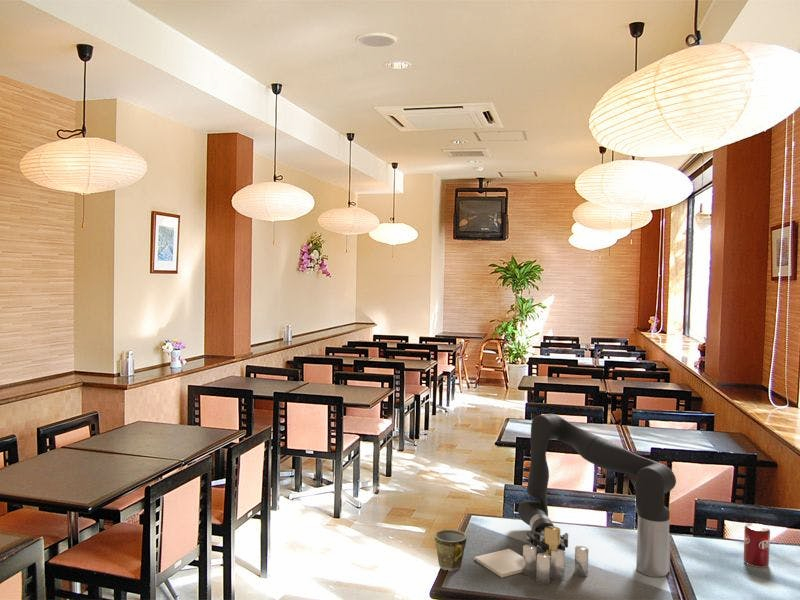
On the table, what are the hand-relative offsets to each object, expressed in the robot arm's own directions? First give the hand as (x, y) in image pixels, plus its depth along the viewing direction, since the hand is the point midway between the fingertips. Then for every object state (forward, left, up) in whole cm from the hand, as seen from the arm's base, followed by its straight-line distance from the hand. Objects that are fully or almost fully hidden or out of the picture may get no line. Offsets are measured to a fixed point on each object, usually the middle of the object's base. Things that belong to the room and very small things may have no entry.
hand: (554, 549), depth 206 cm
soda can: (-62, +27, -7) cm, 68 cm away
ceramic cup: (+28, -15, -7) cm, 32 cm away
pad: (+11, -10, -7) cm, 16 cm away
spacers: (+1, +2, -7) cm, 7 cm away
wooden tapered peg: (-1, -2, -7) cm, 7 cm away
